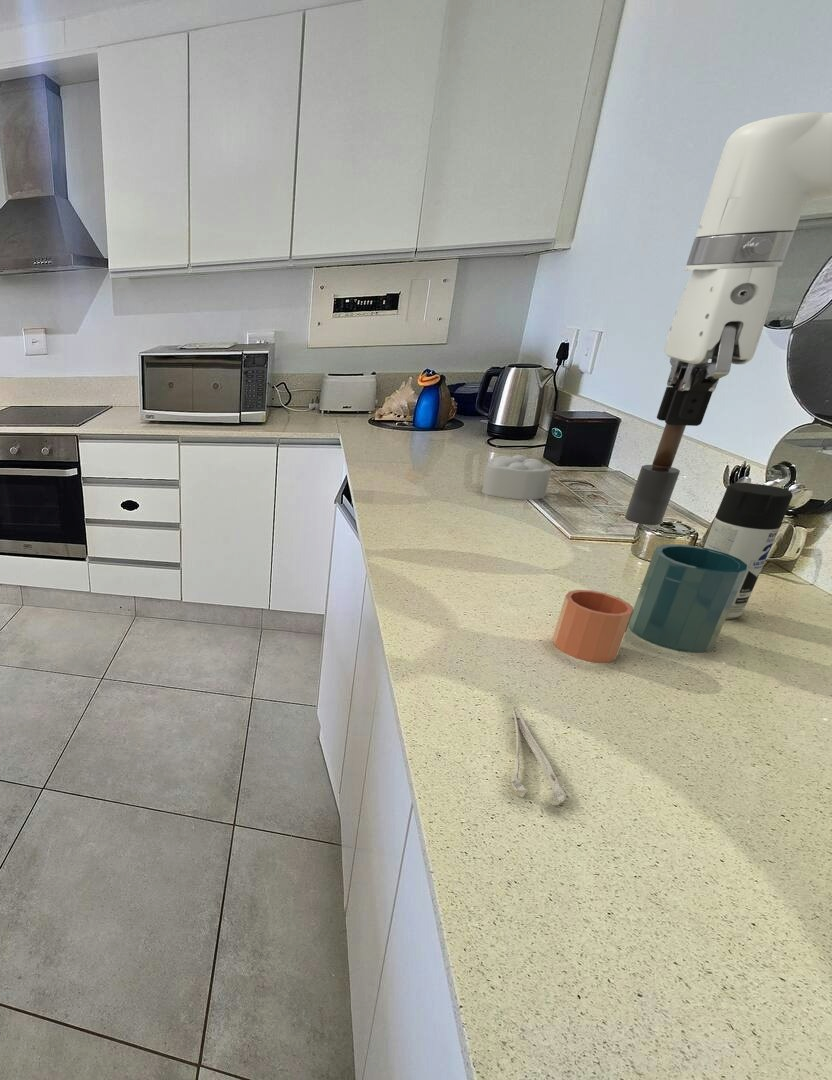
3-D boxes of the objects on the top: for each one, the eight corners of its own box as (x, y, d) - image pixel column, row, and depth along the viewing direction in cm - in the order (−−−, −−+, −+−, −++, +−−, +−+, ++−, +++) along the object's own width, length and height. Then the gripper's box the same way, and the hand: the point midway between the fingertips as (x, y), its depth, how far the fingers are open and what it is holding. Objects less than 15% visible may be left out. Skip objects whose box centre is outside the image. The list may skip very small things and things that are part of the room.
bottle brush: (655, 517, 76) (706, 373, 69) (665, 526, 73) (720, 377, 66) (620, 514, 77) (667, 372, 70) (630, 523, 74) (679, 377, 67)
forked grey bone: (565, 809, 58) (570, 793, 57) (510, 795, 60) (513, 779, 59) (531, 711, 73) (534, 698, 72) (487, 703, 75) (490, 689, 74)
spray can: (738, 625, 86) (795, 499, 79) (677, 609, 91) (725, 489, 83) (742, 609, 90) (797, 488, 83) (684, 594, 95) (730, 478, 87)
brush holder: (605, 642, 84) (622, 594, 81) (623, 670, 78) (641, 619, 75) (546, 633, 87) (560, 586, 84) (558, 660, 81) (574, 610, 77)
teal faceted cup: (694, 627, 86) (727, 548, 81) (724, 661, 79) (762, 576, 74) (618, 617, 90) (644, 541, 85) (639, 648, 82) (670, 566, 77)
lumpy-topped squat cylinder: (484, 483, 151) (491, 451, 148) (544, 490, 144) (553, 456, 141) (480, 494, 143) (488, 460, 140) (544, 502, 136) (553, 467, 133)
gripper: (830, 248, 55) (753, 439, 62) (744, 254, 68) (689, 411, 75) (725, 253, 58) (663, 435, 65) (663, 258, 71) (617, 409, 78)
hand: (677, 421), depth 70 cm, fingers closed on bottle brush
